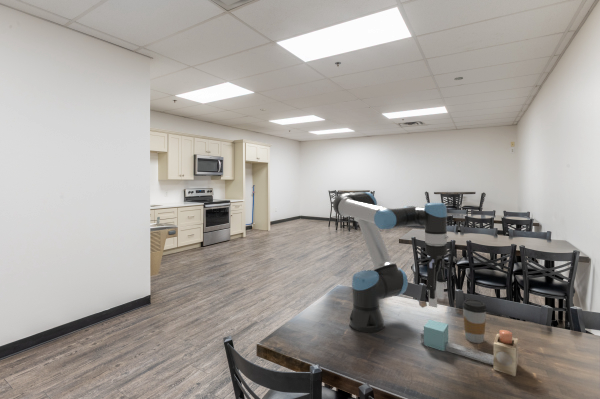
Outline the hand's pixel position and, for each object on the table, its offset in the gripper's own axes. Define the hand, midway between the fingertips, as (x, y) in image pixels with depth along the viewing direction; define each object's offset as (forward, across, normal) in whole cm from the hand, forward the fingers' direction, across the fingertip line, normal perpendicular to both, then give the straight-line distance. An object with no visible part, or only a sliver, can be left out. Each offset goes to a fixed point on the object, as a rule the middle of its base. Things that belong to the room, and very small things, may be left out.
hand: (436, 302), depth 115 cm
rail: (+17, 0, -8) cm, 19 cm away
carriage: (+17, 0, 0) cm, 17 cm away
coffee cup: (+18, +13, -10) cm, 24 cm away
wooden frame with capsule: (+17, 0, -22) cm, 28 cm away
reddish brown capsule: (+8, 0, -22) cm, 24 cm away
